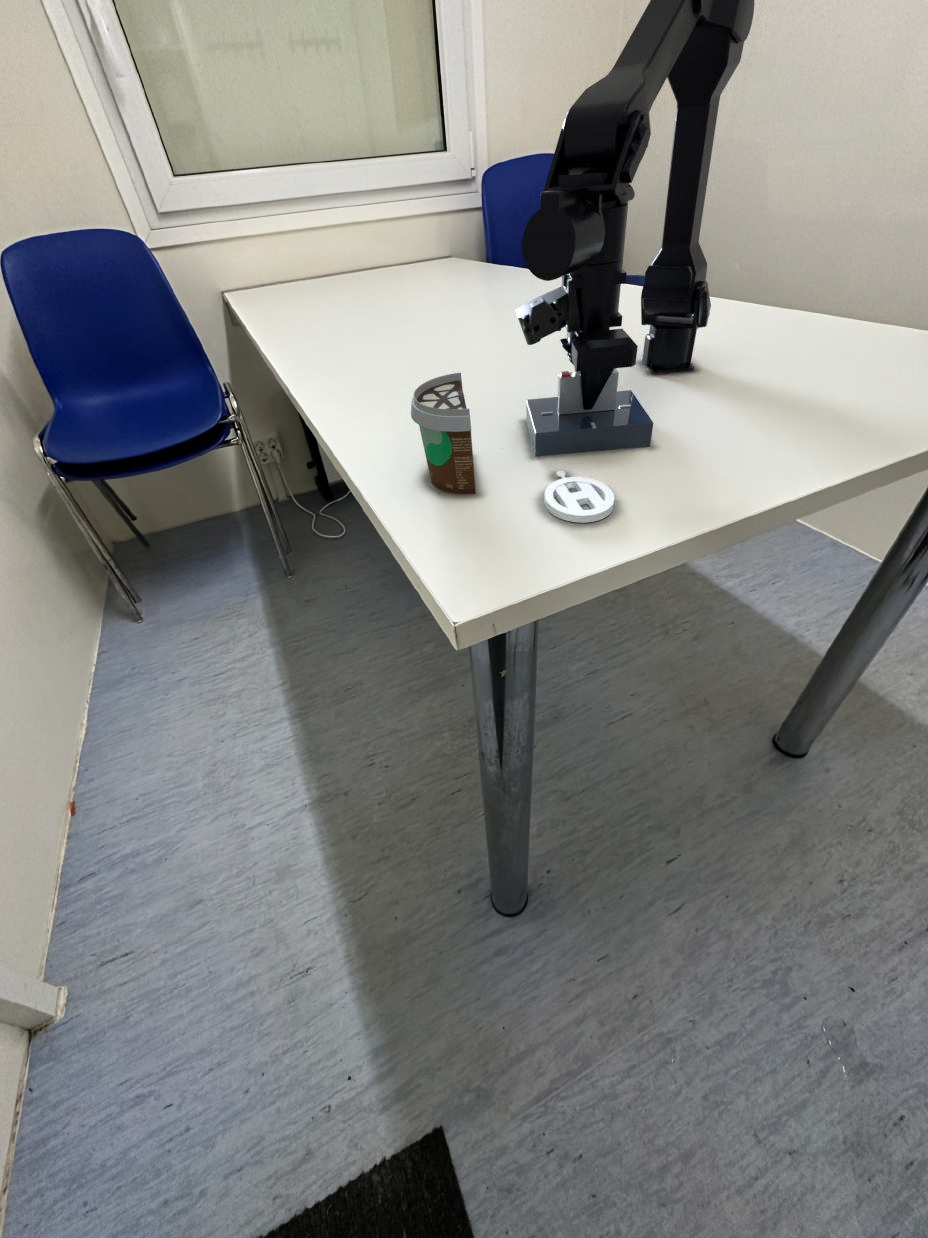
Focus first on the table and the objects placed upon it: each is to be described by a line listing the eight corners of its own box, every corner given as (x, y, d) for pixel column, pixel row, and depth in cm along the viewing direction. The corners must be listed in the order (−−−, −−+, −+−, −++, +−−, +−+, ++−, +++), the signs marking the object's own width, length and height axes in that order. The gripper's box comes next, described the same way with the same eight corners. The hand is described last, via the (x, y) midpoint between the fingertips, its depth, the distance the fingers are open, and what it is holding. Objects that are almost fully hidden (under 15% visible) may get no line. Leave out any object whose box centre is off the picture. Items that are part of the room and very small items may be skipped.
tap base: (628, 411, 75) (631, 388, 72) (650, 446, 66) (654, 421, 64) (526, 421, 75) (526, 397, 73) (535, 457, 67) (535, 432, 65)
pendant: (559, 528, 54) (559, 521, 54) (527, 478, 63) (527, 472, 62) (626, 515, 55) (627, 508, 55) (586, 468, 63) (586, 461, 63)
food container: (420, 458, 69) (407, 376, 63) (467, 452, 69) (460, 370, 63) (422, 506, 60) (408, 417, 54) (477, 500, 60) (469, 410, 54)
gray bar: (612, 404, 69) (616, 365, 66) (615, 409, 68) (619, 370, 65) (557, 409, 69) (558, 371, 66) (559, 414, 68) (560, 375, 65)
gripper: (512, 253, 65) (515, 386, 76) (529, 285, 51) (529, 443, 62) (606, 243, 65) (596, 378, 75) (648, 273, 51) (628, 434, 61)
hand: (586, 406), depth 68 cm, fingers closed on gray bar, 2 cm apart
